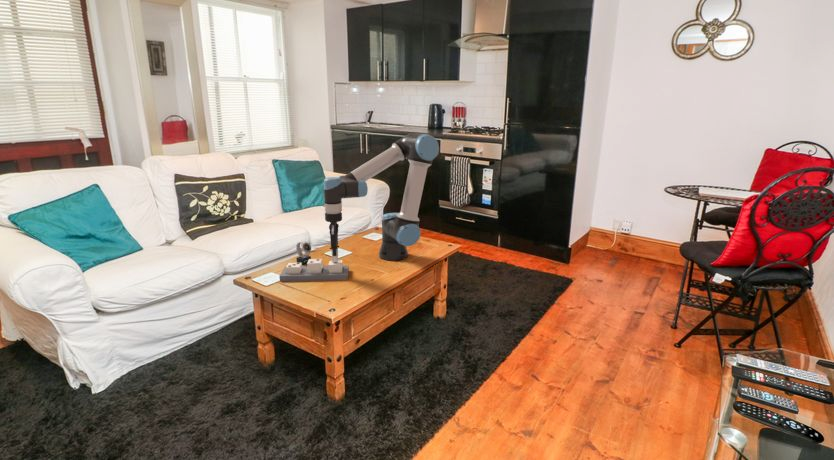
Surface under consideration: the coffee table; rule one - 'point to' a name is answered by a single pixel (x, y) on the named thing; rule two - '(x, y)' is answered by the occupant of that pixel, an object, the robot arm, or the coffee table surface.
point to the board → (314, 275)
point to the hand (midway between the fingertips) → (335, 261)
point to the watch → (302, 258)
